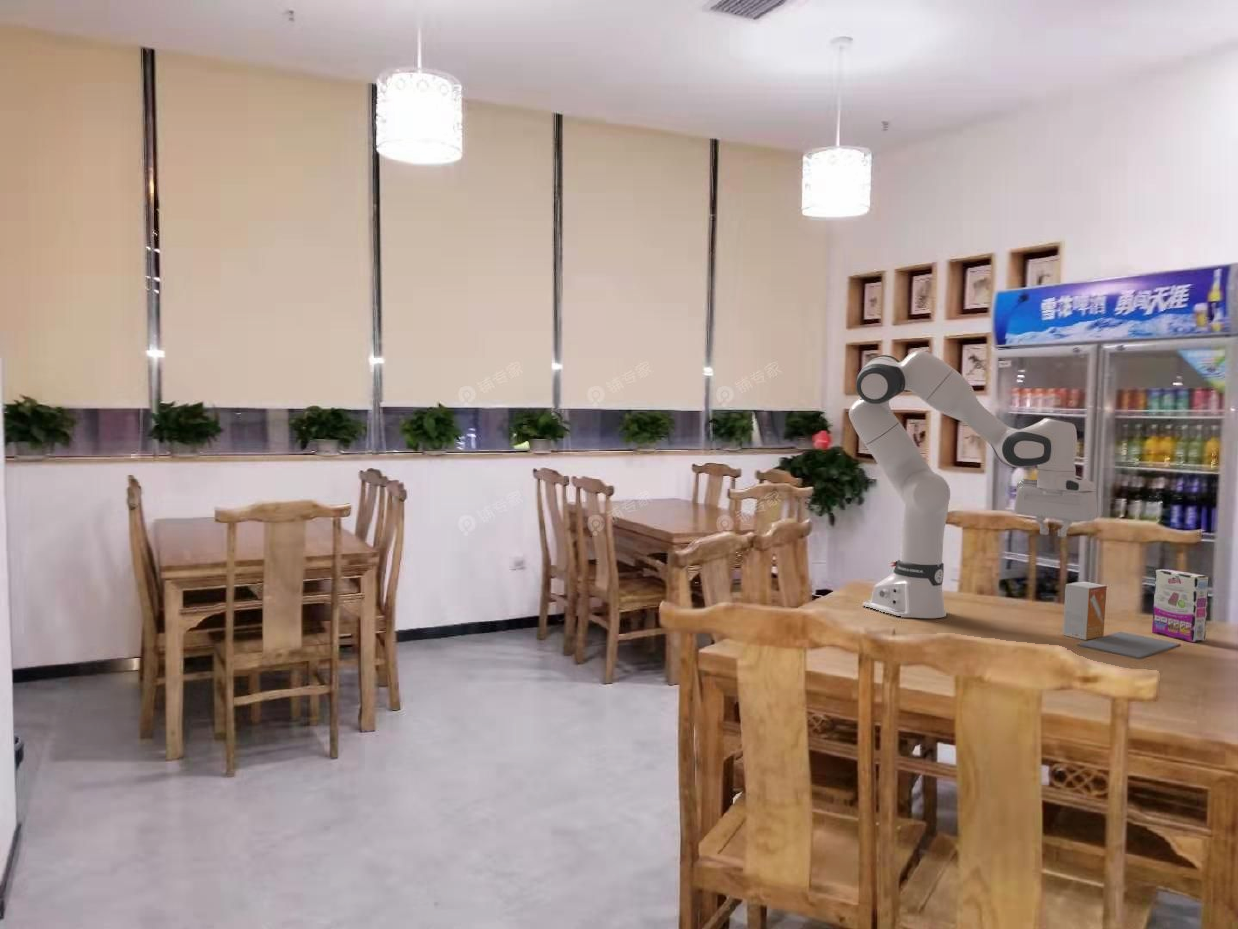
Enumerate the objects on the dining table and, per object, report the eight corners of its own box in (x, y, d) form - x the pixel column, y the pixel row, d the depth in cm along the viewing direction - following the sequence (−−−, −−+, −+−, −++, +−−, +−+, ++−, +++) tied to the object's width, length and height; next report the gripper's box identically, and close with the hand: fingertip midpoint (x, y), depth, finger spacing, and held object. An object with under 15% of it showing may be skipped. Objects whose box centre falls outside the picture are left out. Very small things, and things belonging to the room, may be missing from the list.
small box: (1086, 640, 228) (1089, 588, 227) (1061, 635, 233) (1064, 583, 232) (1104, 636, 232) (1107, 585, 232) (1080, 631, 238) (1082, 580, 237)
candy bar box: (1206, 641, 230) (1210, 575, 229) (1192, 643, 228) (1196, 576, 227) (1164, 631, 240) (1168, 568, 239) (1150, 632, 238) (1154, 569, 237)
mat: (1077, 645, 223) (1077, 643, 223) (1120, 633, 236) (1120, 631, 236) (1138, 658, 212) (1138, 657, 212) (1180, 645, 225) (1180, 643, 225)
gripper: (1010, 478, 244) (1008, 531, 245) (1089, 485, 228) (1086, 541, 229) (1023, 478, 248) (1021, 529, 249) (1101, 484, 231) (1098, 539, 232)
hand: (1052, 535), depth 238 cm, fingers open, 3 cm apart
